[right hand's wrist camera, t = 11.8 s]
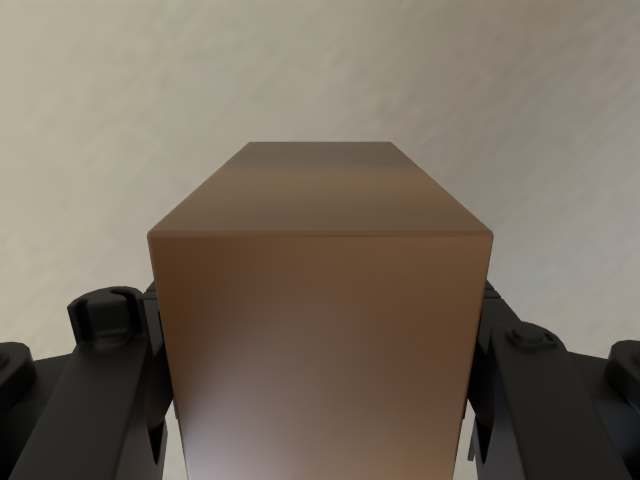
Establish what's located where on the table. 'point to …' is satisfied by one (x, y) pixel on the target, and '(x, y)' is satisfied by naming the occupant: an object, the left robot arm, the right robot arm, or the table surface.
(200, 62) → the table surface
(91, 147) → the table surface
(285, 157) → the bar
